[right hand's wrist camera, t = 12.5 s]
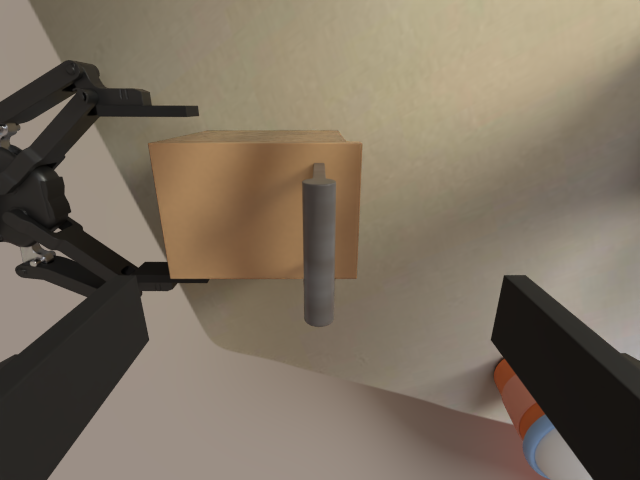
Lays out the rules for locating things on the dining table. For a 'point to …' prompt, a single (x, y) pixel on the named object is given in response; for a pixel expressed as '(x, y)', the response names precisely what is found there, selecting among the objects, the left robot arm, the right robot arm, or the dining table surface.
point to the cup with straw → (537, 430)
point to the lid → (262, 213)
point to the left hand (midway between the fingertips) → (203, 198)
